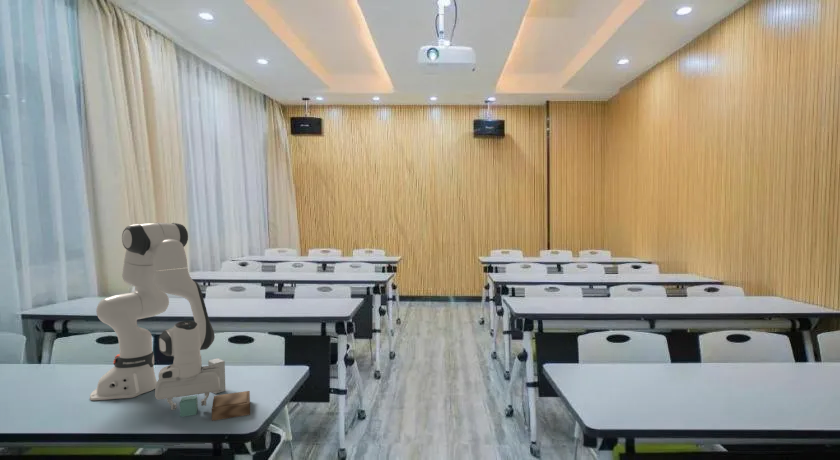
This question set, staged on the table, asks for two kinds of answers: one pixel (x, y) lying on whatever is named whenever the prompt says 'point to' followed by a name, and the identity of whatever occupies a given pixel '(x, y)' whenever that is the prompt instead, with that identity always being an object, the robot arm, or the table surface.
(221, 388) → the skincare box
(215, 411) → the tray
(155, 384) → the robot arm
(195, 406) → the teal cube
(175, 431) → the table surface
